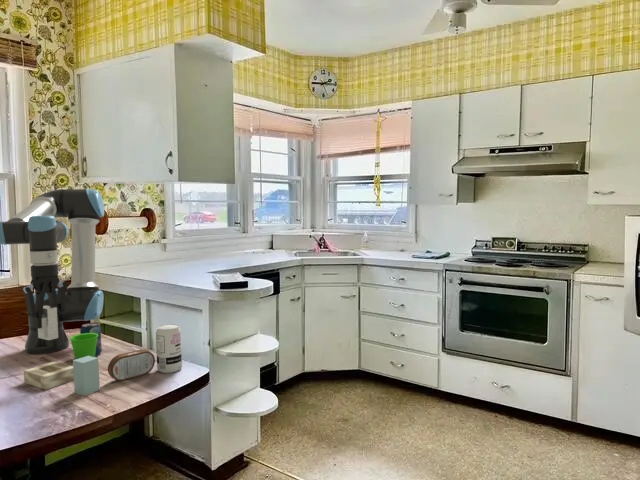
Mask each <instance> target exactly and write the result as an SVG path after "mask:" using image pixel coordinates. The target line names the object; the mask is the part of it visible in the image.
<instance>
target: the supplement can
mask: <svg viewBox="0 0 640 480" xmlns="http://www.w3.org/2000/svg"><path fill="white" fill-rule="evenodd" d="M155 345H156V346H155V347H156V348H155V350H156V369H157V371H158V372H160V373H163V374H169V373H175V372H179V371H180V370H181V368H182V367H183V354H182V353H183V352H182V349H183V347H182V329H181V328H180V325H179V324H176V323H175V324H174V323H169V324H162V325H159V326H158V327H157V329H156V331H155Z"/></svg>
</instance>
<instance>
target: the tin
mask: <svg viewBox="0 0 640 480" xmlns="http://www.w3.org/2000/svg"><path fill="white" fill-rule="evenodd" d="M155 364H156V358H155V355H154V354H153V353H152V352H151V351H150V350H149V349H146V348H145V349H143V348H142V349H141V348H140V349H138V350H134V351H133V350H132V351H128V352H124V353H119V354H117V355H115V356H114V357H112V359H111V360H110V361H109V363H108V366H107V373H108V375H109V377H110V378H112V379H114V380H115V381H119V382H120V381H121V382H123V381H126V380H130V379H133V378H137V377H141V376H145V375H148V374H149V373H150V372H151V371H152V370H153V368H154V366H155Z"/></svg>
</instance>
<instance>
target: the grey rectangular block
mask: <svg viewBox="0 0 640 480" xmlns="http://www.w3.org/2000/svg"><path fill="white" fill-rule="evenodd" d="M42 317H43V318H45V331H46V338H44V339H46V340H52V339H56V338H58V322H57V307H52V306H43V314H42ZM38 338H39V333H38ZM41 339H43V338H41Z"/></svg>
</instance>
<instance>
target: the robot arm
mask: <svg viewBox="0 0 640 480" xmlns="http://www.w3.org/2000/svg"><path fill="white" fill-rule="evenodd" d="M102 197H103V196H102V194H101V192H100V191H98V190H97V189H90V188H89V189H88V188H80V189H79V188H75V189H74V188H73V189H72V188H71V189H68V188H66V189H64V188H62V189H60V188H58V189H54V190H49V191H47V192H44V193H41V194H40V195H38V196H36V197H35V198H33V199H31V201H30V203H29V205H28V206H26V207H25V208H23V210H21V211H19V212H18V213H16V214H15V215H13V216H12V217H11V218H10V219H8V220H6V221H2V220H1V221H0V245H4V246H6V245H27V244H28V245H29V262H30V264H31V266H30V276H31V281H30V284H29V285H27V286H23V287H22V288H21V290H22V292H23V294H24V297H25V298H24V299H25V306H26V311H27V317H28V330H29V331H28V334H27V338H26V342H25V346H24V352H25V353H26V354H31V355H43V354H51V353H54V352H55V353H56V352H59V351H62V350H65V349H66V348H68V347H69V345H70V342H69V340H70V339H69V337H68V335H67V333H66V331H65V328H64V323H65V322H80V321H82V322H88V321H94V320H97V319H99V317H100V316H101V315H102V311H103V307H104V298H105V297H104V295H105V294H104V291H102V290H100V286H99V285H98V284H97V283H96V226H97V225H98V224H99V223H100V218H104V216H105V206H104V201H103V198H102ZM56 218H67V219H68V220H67V221H68V222H69V223H70V225H72V226H71V276H70V277H71V278H70V279H71V283H70V284H69V285H68V282H67V281H64V280H60V278H59V276H58V275H59V264H57V262H58V244H59V243H62V242H63V241H65V240H66V239H67V238H68V237H69V232H70V230H69V227H68V225H67V224H66V223H65V222H62V221H61V220H56ZM33 291H35V292H34V293H33ZM43 306H52V307H57V322H58V338H56V339H52V340H46V339H44V338H46V331H45V318H43V317H42V314H43ZM38 333H39V338H38ZM41 338H43V339H41Z"/></svg>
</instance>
